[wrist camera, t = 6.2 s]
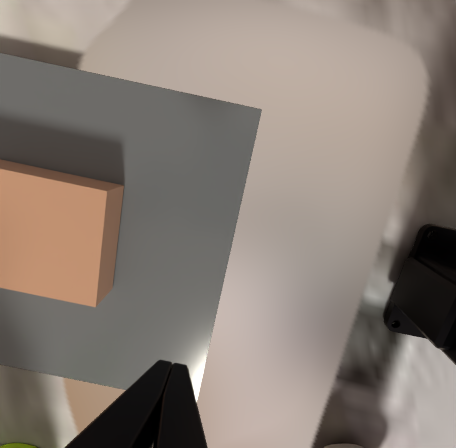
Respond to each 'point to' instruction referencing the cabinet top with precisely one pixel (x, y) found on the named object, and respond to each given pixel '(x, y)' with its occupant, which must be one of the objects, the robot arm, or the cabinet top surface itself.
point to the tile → (58, 233)
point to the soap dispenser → (17, 445)
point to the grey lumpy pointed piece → (343, 446)
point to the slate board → (128, 217)
